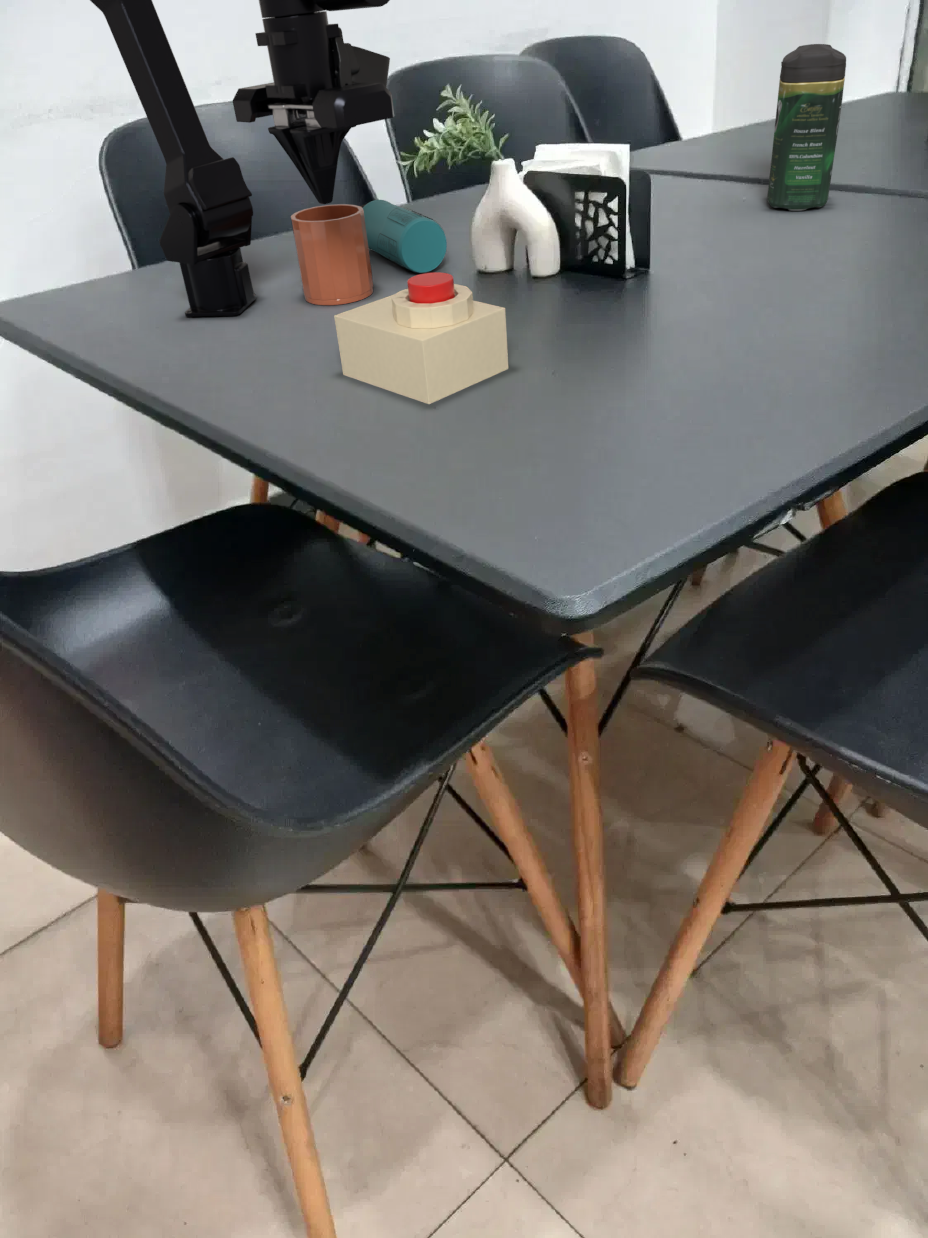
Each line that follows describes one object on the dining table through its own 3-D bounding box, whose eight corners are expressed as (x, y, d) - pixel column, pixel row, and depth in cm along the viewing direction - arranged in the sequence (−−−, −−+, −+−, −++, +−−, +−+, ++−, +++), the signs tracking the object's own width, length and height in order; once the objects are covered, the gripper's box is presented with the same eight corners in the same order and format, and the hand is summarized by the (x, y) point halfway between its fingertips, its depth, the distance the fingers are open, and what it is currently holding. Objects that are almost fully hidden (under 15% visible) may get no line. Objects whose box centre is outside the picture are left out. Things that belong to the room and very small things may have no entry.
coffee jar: (830, 211, 126) (852, 46, 115) (766, 213, 128) (782, 50, 117) (826, 194, 134) (847, 38, 123) (766, 196, 136) (781, 42, 125)
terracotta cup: (296, 306, 110) (281, 223, 105) (315, 285, 117) (302, 205, 112) (364, 304, 109) (352, 219, 104) (380, 282, 116) (370, 202, 110)
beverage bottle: (430, 207, 111) (365, 180, 126) (392, 252, 112) (332, 220, 127) (464, 247, 116) (397, 216, 131) (428, 290, 116) (365, 254, 131)
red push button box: (343, 375, 91) (330, 295, 87) (421, 344, 97) (413, 267, 92) (429, 405, 84) (420, 319, 80) (508, 369, 89) (504, 287, 85)
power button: (400, 301, 85) (397, 281, 84) (433, 289, 87) (431, 269, 86) (430, 309, 83) (428, 288, 82) (464, 296, 85) (462, 276, 84)
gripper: (430, -1, 83) (450, 193, 92) (313, 8, 96) (340, 179, 105) (323, 14, 78) (354, 219, 87) (213, 22, 90) (250, 201, 99)
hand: (325, 202), depth 94 cm, fingers closed
